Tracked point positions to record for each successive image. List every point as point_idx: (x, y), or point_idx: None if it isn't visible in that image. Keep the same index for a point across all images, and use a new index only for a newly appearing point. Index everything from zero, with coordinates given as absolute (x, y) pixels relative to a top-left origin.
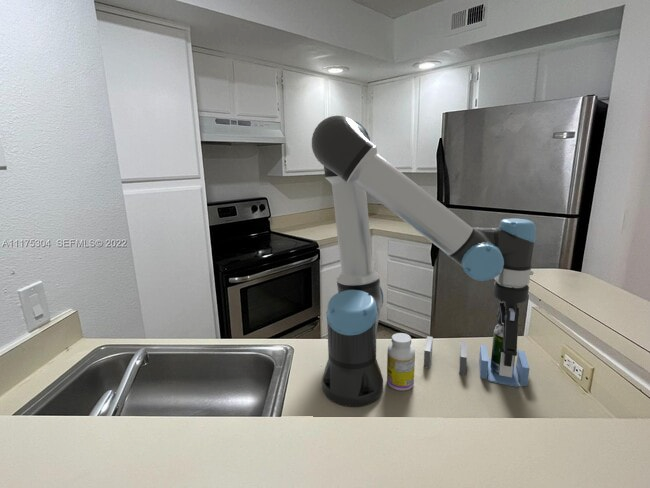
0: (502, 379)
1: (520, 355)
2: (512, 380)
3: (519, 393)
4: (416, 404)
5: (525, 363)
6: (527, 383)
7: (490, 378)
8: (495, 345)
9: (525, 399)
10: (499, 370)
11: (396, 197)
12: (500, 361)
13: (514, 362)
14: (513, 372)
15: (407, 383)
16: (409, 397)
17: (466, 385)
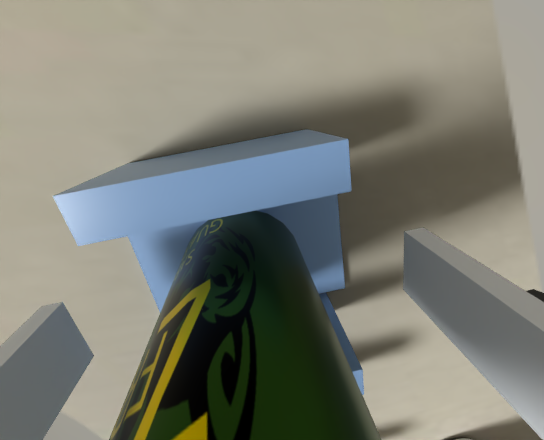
0: (315, 241)
1: (163, 219)
2: (302, 201)
3: (381, 160)
4: None
5: (280, 173)
6: (312, 130)
7: (330, 284)
8: None
9: (420, 131)
10: (420, 303)
11: None
12: (471, 356)
13: (252, 237)
14: None
15: None
16: (502, 425)
17: (398, 337)
